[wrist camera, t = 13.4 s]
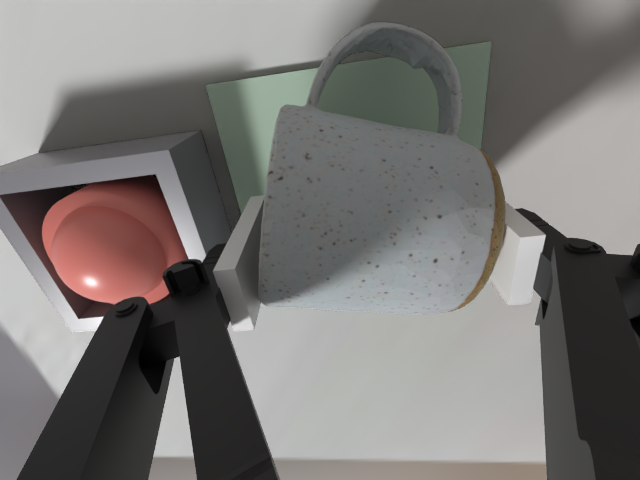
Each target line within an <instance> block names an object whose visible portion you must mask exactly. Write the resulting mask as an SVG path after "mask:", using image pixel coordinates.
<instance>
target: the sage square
mask: <svg viewBox="0 0 640 480" xmlns="http://www.w3.org/2000/svg"><path fill="white" fill-rule="evenodd" d="M491 44H492V41H490V42H482V43H476V44H469V45H463V46H456V47H449V48H443V49H444V50H445V51H446V52H447V53H448V55H449V56H450V58H451V60H452V61H453V63H454V65H455V66H456V68H457V71H458V74H459V77H460V83H461V89H462V94H463V100H462V110H463V112H462V116H461V125H460V128H459V130H458V138H459V140H461V141H463V142H466V143H468V144H470V145H472V146H475V147H477V148H479V149H481V145H482V135H483V125H484V114H485V104H486V94H487V84H488V74H489V64H490V54H491ZM318 69H319V68H312V69H306V70H299V71H292V72H286V73H279V74H273V75H266V76H260V77H253V78H247V79H240V80H234V81H227V82H221V83H214V84H208V85H205V86H206V89H207V93H208V96H209V100H210V104H211V107H212V111H213V115H214V118H215V122H216V125H217V129H218V133H219V136H220V140H221V144H222V147H223V151H224V154H225V158H226V162H227V165H228V169H229V173H230V176H231V180H232V183H233V187H234V191H235V194H236V198H237V201H238V205H239V209H240V212H241V215H242V213H243V211H244V209H245V207H246V205H247V203H248V201H249V199H250V197H252V196H260V195H265V189H266V181H267V172H268V165H269V158H270V151H271V144H272V139H273V134H274V129H275V123H276V119H277V117H278V113H279V111H280V108H281V107H283V106H284V105H286V104H288V105H297V106H305V105H306V103H307V99H308V96H309V92H310V89H311V86H312V83H313V81H314V78H315V75H316V73H317V71H318ZM318 106H319V108H320V110H322V111H325V112H331V113H337V114H341V115H347V116H352V117H356V118H360V119H365V120H370V121H374V122H379V123H383V124H387V125H392V126H397V127H403V128H411V129H418V130H425V131H430V132H435V133H437V132H438V125H439V106H438V96H437V91H436V89H435V86H434V84H433V82H432V80H431V78H430V76H429V75H428V73H427V72H426V71H425V70H424V69H423V68H420V69H413V68H412V67H411V66H410V65H409V64H408V63H406V62H404V61H402V60H399V59H397V58H393V57H384V58H378V59H371V60H364V61H358V62H351V63H345V64H338V65H337V66H336V68H335V69H334V70H333V72H332V73H331V75H330V77H329V78H328V80H327V82H326V84H325V86H324V88H323V91H322V93H321V96H320V98H319V102H318Z"/></svg>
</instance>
